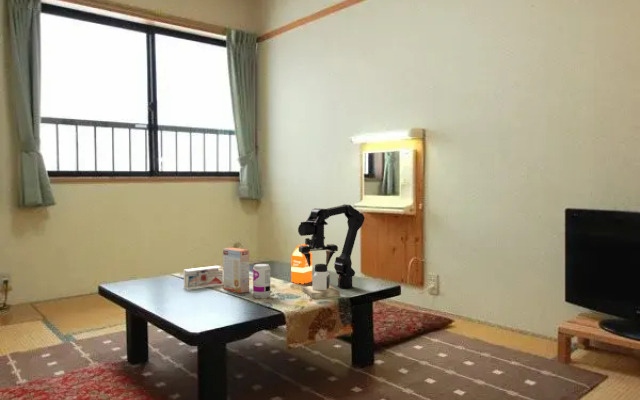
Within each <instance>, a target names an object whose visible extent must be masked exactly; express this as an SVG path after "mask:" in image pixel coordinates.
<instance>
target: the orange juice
mask: <svg viewBox="0 0 640 400" xmlns="http://www.w3.org/2000/svg"><path fill="white" fill-rule="evenodd" d="M299 246H308V245H305V244H300V245H297V246H296V247H295V249H294V251H293V252H292V254H291V264H290V265H291V270H290V271H291V274H290V275H291V283H292V282H294V283H293V284H299V283H301V284H300V285H304V283H305V284H308V283H311V282H312V276H313V254H312V251H310V252H309V253H310V255H311V264H310V267H309V266H308V263H307V260H306V257H305V255H304V254H302V253H301V252H299Z"/></svg>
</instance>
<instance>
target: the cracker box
mask: <svg viewBox="0 0 640 400" xmlns="http://www.w3.org/2000/svg"><path fill="white" fill-rule="evenodd" d="M222 250H223V251H222V256H223V257H222V258H223V262H222V263H223V265H222V266H223V267H222V270H223V284H222V286H223V288H222V289H223V290H226V291H230V292H234V293H237V294H244V293H249V292H250V250H249V249H243V248H239V247H238V248H237V247H231V246H230V247H224V248H223V249H222Z"/></svg>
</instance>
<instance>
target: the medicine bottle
mask: <svg viewBox="0 0 640 400" xmlns="http://www.w3.org/2000/svg"><path fill="white" fill-rule="evenodd" d="M330 278H331V277H330V272H328V266H327V265H326V263H316V264H314V274H312V281H311V282H312V284H311V286H312V289H313V290H324V291H327V290H328V288H329V287H330V286H331V284H330V281H331V280H330Z"/></svg>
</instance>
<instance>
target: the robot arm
mask: <svg viewBox="0 0 640 400" xmlns="http://www.w3.org/2000/svg"><path fill="white" fill-rule="evenodd" d="M342 214H344V216H345V218H346V219H347V227H348V229H347V233H346V236H345V239H344V243H343V247H342V250H341V253H340V256H336V257H335V259H334V263H333V265H334V267H333V268H334V270H335V272H336V273H335V274H336V275H338V278H337V287H339V288H340V289H354V285H353V277H355V275H356V271H355V269H353V268H352V265H353V264H352V258H351V255H352V253H353V251H354V250H353V249H354V245H355V241H356V238H357V235H358V231H359V230H360V229H361V227H362V226H363V224H364V222H365V219H366V218H365V216H364V213H362V212H360V211H359V210H358V209H356V208H354V206H352V205H350V204H342V205H337V206H333V207H329V208H312V209H311V212H310V213H309V216H308V217H307V219H306V221H303V220H302V221H300V224H299V226H298V228H297V232H298V234H299V236H301V237H303V236H306V237H307V236H311V238H309V237H308V238H305V239H304V243H305V245H307V246H299V245H298V246H299V252H301V253H302V254H304V255H305V257H306V260H307V263H308V266H309V267H310V264H311V255H310V253H309V252H312V251H315V252H316V251H325V253H326V257H325V258H326V259H325V264H326V265H327V267H328V266H329V263H330V261H331V259H332V257H333V256H334V254H336V252H338V251H339V247H338V245H337V244H334V243H331V244H329V243H328V244H326V245H325V240H326V236H325V226H327V225H329V223H328V222H326V221H327V219H329V218H330V217H334V216H338V215H342Z"/></svg>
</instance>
